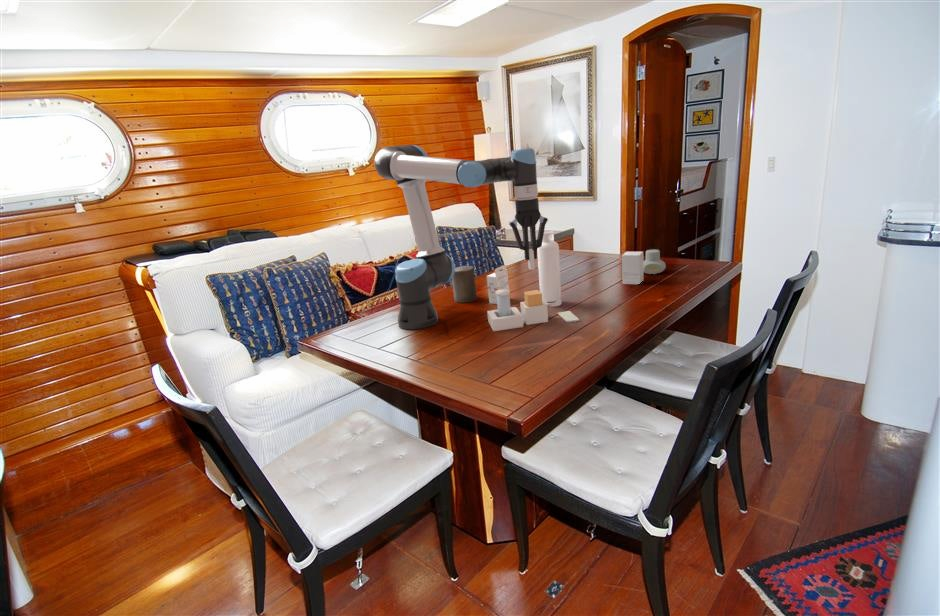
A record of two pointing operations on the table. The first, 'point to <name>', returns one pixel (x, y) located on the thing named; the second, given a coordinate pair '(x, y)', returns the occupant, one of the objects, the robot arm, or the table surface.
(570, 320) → the rubber mat
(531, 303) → the plunger
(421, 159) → the robot arm
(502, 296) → the grey rounded cylinder
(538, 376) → the table surface
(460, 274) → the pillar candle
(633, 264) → the supplement box
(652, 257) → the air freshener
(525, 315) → the white compartment holder
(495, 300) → the ink cartridge box
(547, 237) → the bottle
